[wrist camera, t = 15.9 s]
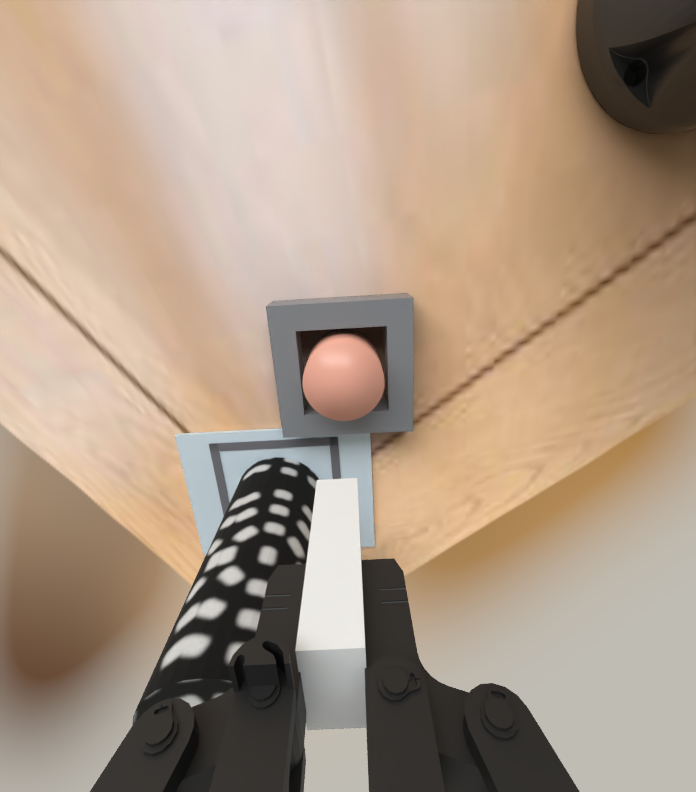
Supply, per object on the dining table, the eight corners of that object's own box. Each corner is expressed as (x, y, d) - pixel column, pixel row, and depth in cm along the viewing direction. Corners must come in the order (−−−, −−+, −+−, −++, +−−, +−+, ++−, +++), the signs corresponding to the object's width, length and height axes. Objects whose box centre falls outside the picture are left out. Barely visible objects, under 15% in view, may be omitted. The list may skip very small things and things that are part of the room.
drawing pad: (369, 423, 36) (369, 425, 35) (374, 544, 41) (374, 547, 40) (176, 433, 36) (174, 436, 36) (204, 552, 41) (203, 555, 41)
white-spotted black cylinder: (309, 537, 40) (276, 793, 21) (229, 515, 39) (122, 764, 20) (334, 471, 37) (321, 700, 18) (249, 446, 36) (145, 661, 17)
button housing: (407, 293, 32) (413, 297, 29) (407, 416, 36) (412, 430, 33) (273, 301, 32) (265, 306, 29) (288, 422, 36) (283, 437, 33)
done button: (378, 328, 31) (383, 340, 27) (380, 397, 34) (385, 418, 29) (304, 332, 32) (298, 345, 27) (311, 401, 34) (306, 423, 29)
